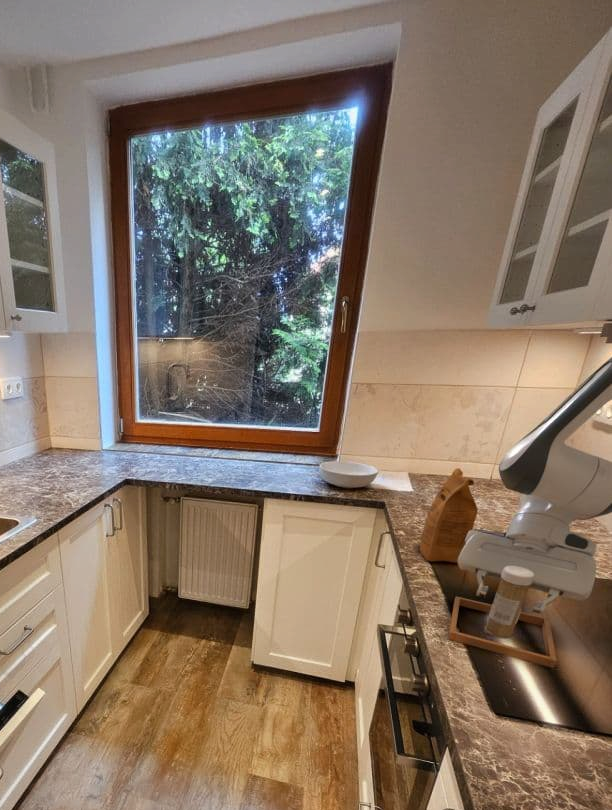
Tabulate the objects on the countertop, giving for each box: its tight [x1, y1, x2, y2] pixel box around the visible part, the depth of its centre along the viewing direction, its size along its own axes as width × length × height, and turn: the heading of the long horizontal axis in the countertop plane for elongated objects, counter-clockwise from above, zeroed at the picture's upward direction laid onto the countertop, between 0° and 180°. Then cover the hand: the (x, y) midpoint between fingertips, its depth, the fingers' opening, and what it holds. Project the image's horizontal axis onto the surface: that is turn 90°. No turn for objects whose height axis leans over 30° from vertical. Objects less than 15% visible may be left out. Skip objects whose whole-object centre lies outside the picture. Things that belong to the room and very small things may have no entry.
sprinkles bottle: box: [483, 566, 534, 639], centre depth 86 cm, size 5×5×13 cm
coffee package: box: [419, 467, 479, 564], centre depth 118 cm, size 10×12×22 cm
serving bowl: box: [318, 460, 379, 489], centre depth 179 cm, size 21×21×7 cm
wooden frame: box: [447, 596, 558, 669], centre depth 89 cm, size 16×16×3 cm
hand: (508, 603), depth 86 cm, fingers open, 7 cm apart
